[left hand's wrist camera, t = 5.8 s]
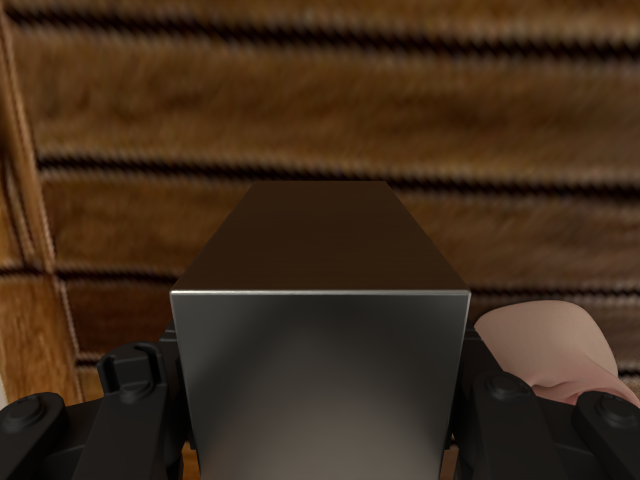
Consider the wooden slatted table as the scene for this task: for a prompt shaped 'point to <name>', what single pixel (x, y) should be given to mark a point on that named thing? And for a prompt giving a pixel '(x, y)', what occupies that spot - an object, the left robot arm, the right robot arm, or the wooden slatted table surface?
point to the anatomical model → (553, 350)
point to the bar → (320, 337)
